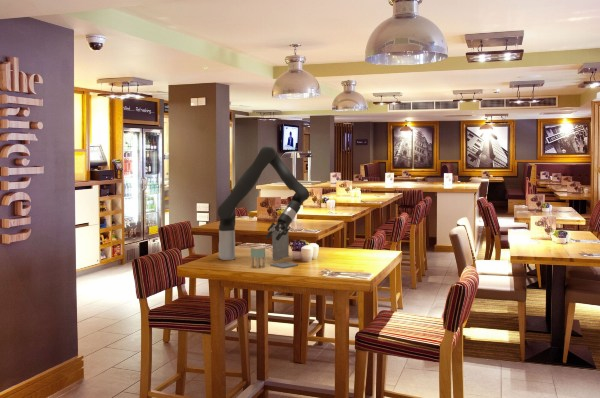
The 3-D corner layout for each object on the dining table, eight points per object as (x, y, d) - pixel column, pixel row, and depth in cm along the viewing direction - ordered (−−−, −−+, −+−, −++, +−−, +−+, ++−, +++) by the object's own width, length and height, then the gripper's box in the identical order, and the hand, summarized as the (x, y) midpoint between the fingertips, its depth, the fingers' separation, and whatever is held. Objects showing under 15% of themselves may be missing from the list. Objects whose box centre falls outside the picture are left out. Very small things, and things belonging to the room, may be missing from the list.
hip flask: (276, 260, 360) (275, 226, 359) (270, 259, 362) (269, 226, 361) (289, 256, 374) (289, 223, 373) (283, 255, 376) (283, 222, 375)
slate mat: (270, 265, 345) (270, 264, 345) (285, 263, 352) (285, 261, 352) (283, 268, 337) (283, 266, 336) (298, 265, 344) (298, 264, 344)
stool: (251, 266, 342) (250, 247, 342) (259, 265, 346) (258, 246, 345) (257, 268, 338) (257, 248, 337) (265, 266, 342) (265, 247, 341)
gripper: (275, 211, 358) (260, 233, 351) (291, 213, 347) (276, 235, 340) (282, 220, 362) (267, 241, 355) (298, 222, 351) (283, 244, 344)
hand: (271, 238), depth 348 cm, fingers open, 8 cm apart
